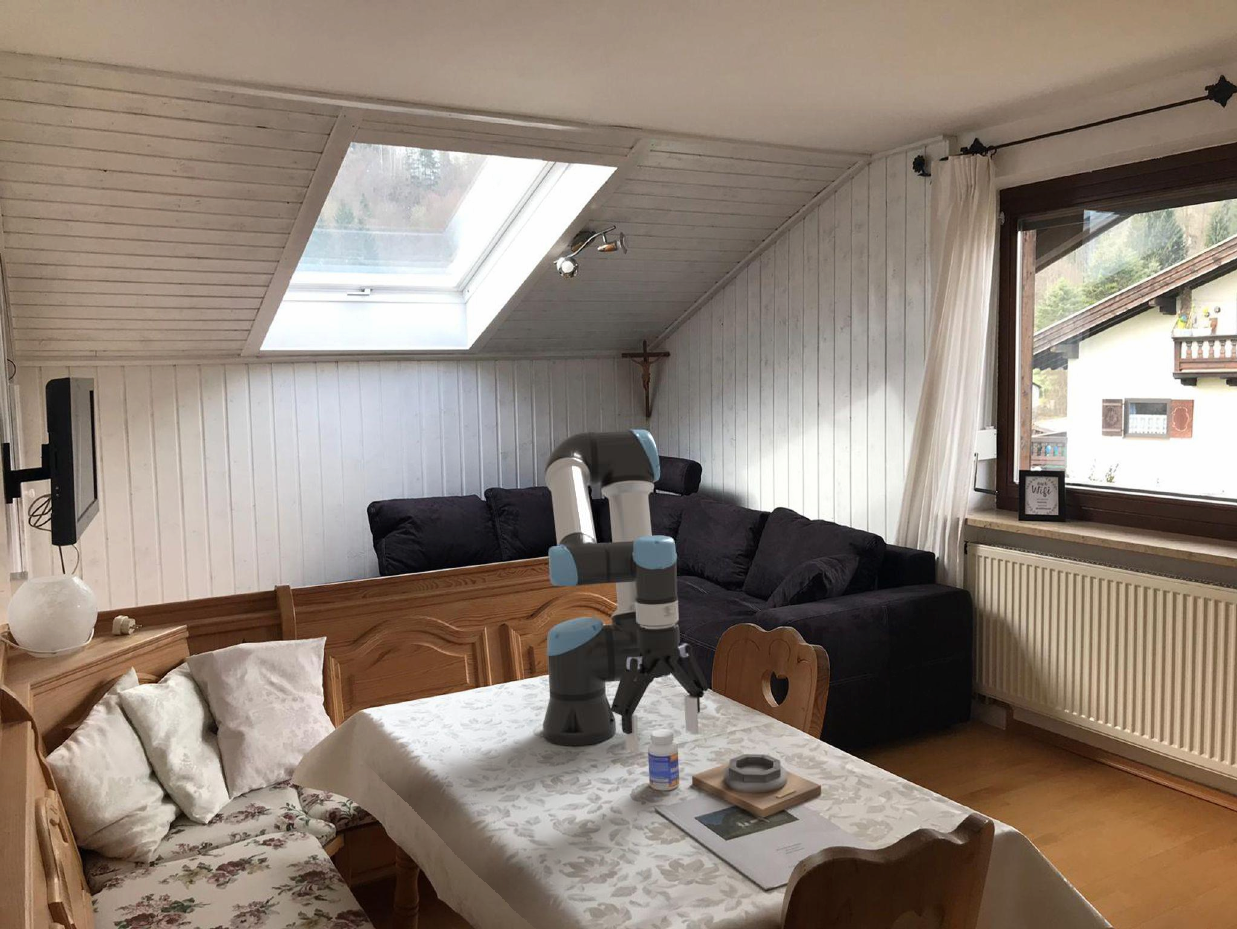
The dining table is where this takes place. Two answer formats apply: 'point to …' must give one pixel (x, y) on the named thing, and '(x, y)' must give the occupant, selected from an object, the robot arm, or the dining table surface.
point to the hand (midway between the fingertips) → (662, 741)
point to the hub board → (757, 799)
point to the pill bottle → (663, 760)
